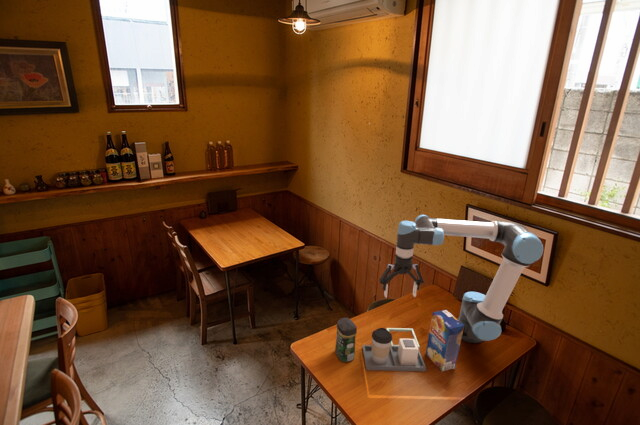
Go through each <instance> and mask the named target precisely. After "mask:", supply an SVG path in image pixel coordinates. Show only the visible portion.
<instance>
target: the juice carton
mask: <svg viewBox="0 0 640 425" xmlns="http://www.w3.org/2000/svg"><path fill="white" fill-rule="evenodd" d="M457 319H458V318H456V316H454V315H453V314H452V313H451V312H450V311H449V310H447V309H442V310H437V311H433V312H432V315H431V320H430V325H429V332H428V337H427V344H426V350H425V354H426V356H427V357H428V359H430V360H431V361H432V362H433V364H434V365H435V366H436V367H437V368H438V369H439V370H440V372H445V371H448V370H449V371H450V370H454V371H455V370H456V366H457V361H458V357H459V352H460V346H461V342H462V339H461V338H462V333H463V329H464V325H463V324H462V323H461V322H460V321H459V320H457Z"/></svg>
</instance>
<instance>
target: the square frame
mask: <svg viewBox="0 0 640 425" xmlns="http://www.w3.org/2000/svg"><path fill="white" fill-rule="evenodd" d="M385 329H386V330H388V331H389V332H408V333H410V332H411V333H412V336H413V339H415V341H416V344H417V346H418V348H419V349H420V347H421V346H420V344H419V341H418V339H417V336H416V333H415V331H414V328H408V327H407V328H405V327H404V328H402V327H386V328H385ZM391 346H399V344H394V343H393V340H392V341H391Z"/></svg>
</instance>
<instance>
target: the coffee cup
mask: <svg viewBox="0 0 640 425" xmlns="http://www.w3.org/2000/svg"><path fill="white" fill-rule="evenodd" d="M386 329H387V328H385V327H378V328H376V329H374V330H373V331H372V332H371V345H372V360H373V362H374V363H376V364H379V365H382V364H385V363H386V362H387V358H388V355H389V351H390V346H391V341H392V342H393V335H392V333H391V331H388V330H386Z"/></svg>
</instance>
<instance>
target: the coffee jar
mask: <svg viewBox="0 0 640 425" xmlns="http://www.w3.org/2000/svg"><path fill="white" fill-rule="evenodd" d="M357 329H358V328H357V325H356V324H355V323H354V321H353V320H352V319H351V318H348V317H343V318H339V319H338V320H337V322H336V337H335V338H336V339H335V348H334V352H335V354H336V356H337V358H338V359H339V361H341V362H344V363H346V362H347V363H348V362H351V361H353V360H355V355H356V350H355V349H356V336H357V332H358V331H357Z"/></svg>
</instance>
